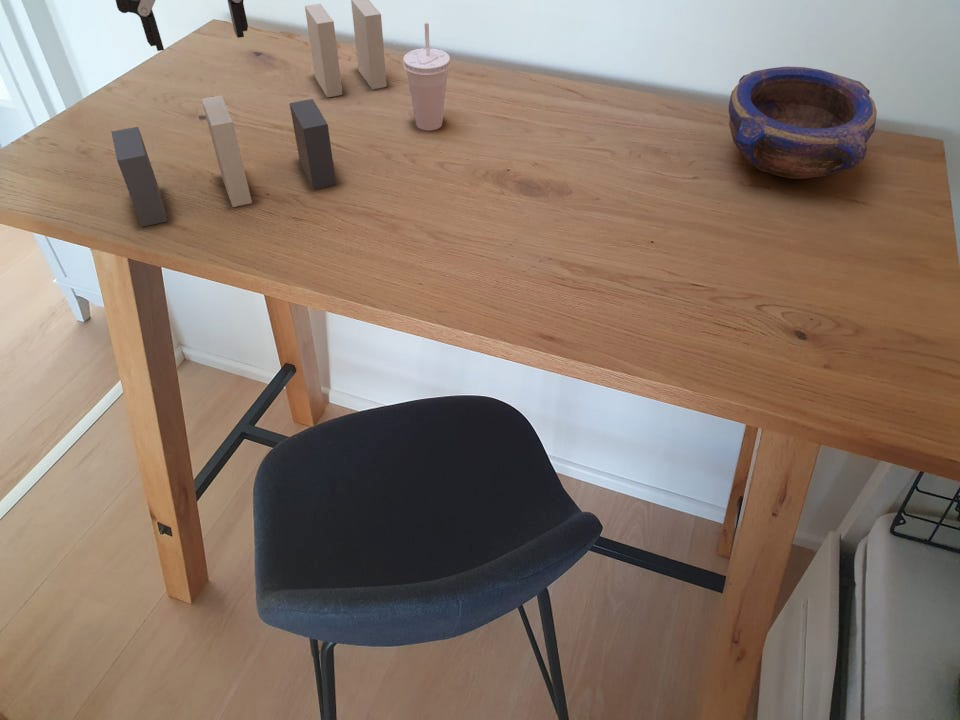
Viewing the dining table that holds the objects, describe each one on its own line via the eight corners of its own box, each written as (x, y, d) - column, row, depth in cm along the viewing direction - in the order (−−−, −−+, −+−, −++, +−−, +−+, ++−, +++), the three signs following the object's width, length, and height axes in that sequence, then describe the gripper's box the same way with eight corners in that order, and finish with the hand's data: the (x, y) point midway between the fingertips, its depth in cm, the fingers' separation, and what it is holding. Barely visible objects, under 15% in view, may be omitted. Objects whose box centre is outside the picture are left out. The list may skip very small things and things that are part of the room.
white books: (327, 97, 115) (317, 23, 107) (315, 78, 119) (304, 5, 112) (386, 86, 118) (381, 13, 110) (372, 68, 122) (366, -4, 114)
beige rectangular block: (232, 207, 95) (211, 125, 87) (222, 178, 99) (201, 98, 91) (252, 203, 95) (232, 121, 87) (241, 175, 100) (221, 95, 92)
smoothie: (456, 116, 111) (455, 18, 101) (444, 137, 107) (442, 37, 97) (414, 111, 112) (408, 13, 102) (401, 132, 108) (394, 32, 98)
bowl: (706, 184, 99) (724, 113, 92) (725, 121, 111) (742, 53, 104) (851, 213, 95) (882, 140, 88) (855, 144, 107) (882, 75, 100)
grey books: (141, 227, 92) (117, 160, 85) (135, 196, 96) (111, 131, 90) (336, 184, 98) (327, 120, 92) (321, 158, 103) (312, 94, 96)
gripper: (225, -147, 77) (257, 18, 88) (73, -133, 73) (128, 38, 84) (240, -128, 72) (272, 44, 83) (78, -112, 68) (136, 66, 79)
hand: (200, 41), depth 84 cm, fingers open, 8 cm apart
